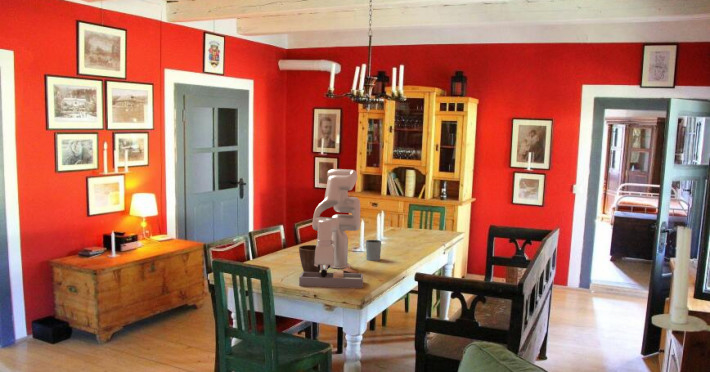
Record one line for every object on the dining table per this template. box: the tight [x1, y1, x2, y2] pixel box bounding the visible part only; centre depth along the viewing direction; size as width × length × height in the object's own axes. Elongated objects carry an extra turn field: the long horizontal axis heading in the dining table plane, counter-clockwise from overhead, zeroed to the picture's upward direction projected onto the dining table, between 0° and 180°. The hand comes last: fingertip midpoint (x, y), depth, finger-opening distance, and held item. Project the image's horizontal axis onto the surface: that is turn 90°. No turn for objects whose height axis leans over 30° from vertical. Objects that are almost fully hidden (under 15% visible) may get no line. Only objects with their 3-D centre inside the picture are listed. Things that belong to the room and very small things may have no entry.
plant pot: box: [298, 244, 321, 272], centre depth 316 cm, size 15×15×16 cm
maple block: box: [332, 270, 343, 278], centre depth 299 cm, size 5×5×4 cm
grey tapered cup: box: [365, 239, 382, 262], centre depth 360 cm, size 10×10×12 cm
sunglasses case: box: [340, 266, 359, 274], centre depth 318 cm, size 18×7×7 cm
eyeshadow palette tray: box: [298, 271, 364, 289], centre depth 300 cm, size 12×33×4 cm, turn 88°
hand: (323, 277), depth 300 cm, fingers closed
